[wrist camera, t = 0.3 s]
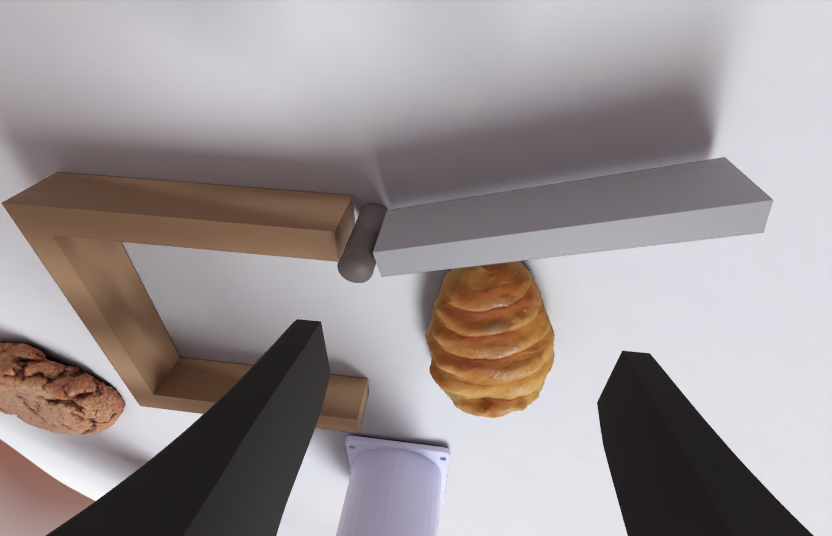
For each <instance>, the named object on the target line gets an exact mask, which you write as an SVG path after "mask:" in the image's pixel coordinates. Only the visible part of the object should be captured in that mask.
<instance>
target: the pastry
mask: <svg viewBox="0 0 832 536" xmlns="http://www.w3.org/2000/svg"><path fill="white" fill-rule="evenodd" d="M426 339H427V344H428V346H429V349H430V353H431V356H432V361H431V365H430V374H431V375H432V377H433V379H434V380H435V382H436V383H437V384H438V385H439V386H440V387H441V389H443V390H444V392H445V393H446V394H447V395H448V396H449V397H450V398H451V400H452V401H453V403H454V405H455V406H456V407H457V408H459V409H461V410H462V411H463V412H466V413H469V414H472V415H475V416H483V417H491V418H496V417H501V416H504V415H507V414H508V413H510V412H512V411H522V410H524V409H525V408H526V407H527V406H528V405H530V404H531V403H532V402H534V401H535V400H536V399H537V398H538V397H539V393H540V391H541V390H542V387H543V385H544V380H545V378H546V376H547V374H548V373H549V371H550V370H551V367H552V365H553V361H554V351H553V346H554V344H553V342H554V331H553V328H552V326H551V323H550V320H549V317H548V315H547V313H546V311H545V308H544V306H543V302H542V299H541V296H540V292H539V290H538V287H537V285H536V283H535V280H534V278H533V276H532V274H531V273H530V272H529V270H528V269H527V268H526V267H525V266H524V265H523V264H522V263H521V261H514V262H505V263H497V264H488V265H479V266H471V267H462V268H454V269H452V270H451V271H450V272H448V273H447V274H446V275H445V276H444V278H443V281H442V285H441V288H440V293H439V296H438V297H437V299H436V300H435V301H434V304H433V309H432V319H431V322H430V324H429V326H428V328H427V331H426Z"/></svg>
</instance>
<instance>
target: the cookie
mask: <svg viewBox="0 0 832 536" xmlns="http://www.w3.org/2000/svg"><path fill="white" fill-rule="evenodd" d="M45 356H46V355H45V354H43V352H42V351H40V350H39V349H36V348H33V347H31V346H29V345H27V344H24V343H0V412H3V413H5V414H15V415H18V416H17V417H18V418H20V419H21V420H22V421H24V422H26V423H28V424H30V425H33V426H36V427H39V428H42V429H45V430H49V431H51V432H56V433H63V434H78V433H80V434H83V435H90V434H95V433H99V432H101V431H103V430H105V429H107V428H109V427H110V426H112V425H113V424H114V423H115V421H116V420H117V419H118V417H119V416H120V415H121V414H122V412H123V410H124V407H125V403H124V402H123V400H122V398H121V397H120V395H119V394H117V391H116V390H114V389H113V388H112V387H109V386H106V385H105V384H104V383H102V382H99V381H98V380H97V379H94V377H93V376H91V375H88V373H86V372H83V373H81V370H80V369H79V368H78V367H73V366H65V365H64V364H60V363H56V362H54V361H49V360H47V359H46V358H45Z"/></svg>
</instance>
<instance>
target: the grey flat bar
mask: <svg viewBox="0 0 832 536" xmlns="http://www.w3.org/2000/svg"><path fill="white" fill-rule="evenodd" d="M772 202H773V199H771V198H770V197H769V196H768V195H767V194H766V193H765V192H764V191H762V190H761V189H760V188H759V187H758V186H757V185H756V184H754V183H753V182H752V181H751V180H750V179H749V178H748V177H747V176H745V175H744V174H743V173H742V172H741V171H740V170H739V169H738V168H736V167H735V166H734V165H733V164H732V163H731V162H730V161H728V160H727V159H726V158H725V157H723V158H717V159H710V160H704V161H698V162H691V163H685V164H678V165H672V166H666V167H659V168H653V169H646V170H640V171H634V172H627V173H621V174H614V175H608V176H601V177H595V178H589V179H582V180H576V181H569V182H563V183H557V184H550V185H544V186H537V187H531V188H525V189H518V190H512V191H505V192H499V193H492V194H486V195H480V196H473V197H467V198H460V199H454V200H448V201H441V202H435V203H428V204H422V205H416V206H409V207H403V208H396V209H390V210H387V212H386V215H385V218H384V221H383V224H382V227H381V230H380V233H379V236H378V239H377V242H376V244H375V247H374V250H373V255H374V257H375V260H376V263H377V265H378V268H379V271H380V274H381V276H382V277H384V276H393V275H402V274H410V273H419V272H428V271H436V270H445V269H454V268H462V267H471V266H479V265H488V264H497V263H505V262H514V261H523V260H531V259H540V258H549V257H557V256H566V255H575V254H583V253H592V252H600V251H609V250H618V249H626V248H635V247H644V246H652V245H661V244H670V243H678V242H687V241H695V240H704V239H713V238H721V237H730V236H739V235H747V234H756V233H763V232H764V229H765V226H766V222H767V219H768V216H769V212H770V209H771V206H772Z"/></svg>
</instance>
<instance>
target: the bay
mask: <svg viewBox="0 0 832 536" xmlns="http://www.w3.org/2000/svg"><path fill="white" fill-rule="evenodd" d="M2 204H3V206H4V207H5V209H6V210H7V212H8V213H9V215H10V216H11V218H12V219H13V221H14V222H15V223H16V225H17V226H18V228H19V229H20V231H21V232H22V234H23V235H24V237H25V238H26V240H27V241H28V243H29V244H30V245H31V247H32V248H33V250H34V251H35V253H36V254H37V256H38V257H39V259H40V260H41V262H42V263H43V264H44V266H45V267H46V269H47V270H48V272H49V273H50V275H51V276H52V278H53V279H54V281H55V282H56V284H57V285H58V286H59V288H60V289H61V291H62V292H63V294H64V295H65V297H66V298H67V300H68V301H69V303H70V304H71V305H72V307H73V308H74V310H75V311H76V313H77V314H78V316H79V317H80V319H81V320H82V322H83V323H84V324H85V326H86V327H87V329H88V330H89V332H90V333H91V335H92V336H93V338H94V339H95V341H96V342H97V344H98V345H99V346H100V348H101V349H102V351H103V352H104V354H105V355H106V357H107V358H108V360H109V361H110V363H111V364H112V365H113V367H114V368H115V370H116V371H117V373H118V374H119V376H120V377H121V379H122V380H123V382H124V383H125V385H126V386H127V387H128V389H129V390H130V392H131V393H132V395H133V396H134V398H135V399H136V401H137V402H138V404H139V405H140V406H145V407H153V408H161V409H169V410H177V411H185V412H193V413H201V414H204V413H205V412H206V411H207V410H209V409H210V408H211V407H212V406H213V405H214V404H215V403H216V402H217V401H218V400H219V399H220V398H221V397H223V396H224V395H225V394H226V393H227V392H228V391H229V390H230V389H231V388H232V387H233V386H234V385H235V384H236V383H237V382H238V381H239V380H240V379H241V378H242V377H243V376H244V375H245V374H246V373H247V372H248V371H249V370H250V369H251V367H252V365H243V364H234V363H226V362H217V361H208V360H199V359H191V358H182V357H180V356H179V354H178V352H177V350H176V348H175V346H174V344H173V342H172V340H171V338H170V336H169V334H168V333H167V331H166V329H165V327H164V325H163V323H162V321H161V319H160V317H159V315H158V313H157V311H156V309H155V307H154V305H153V303H152V301H151V299H150V297H149V296H148V294H147V292H146V290H145V288H144V286H143V284H142V282H141V280H140V278H139V276H138V274H137V272H136V270H135V268H134V266H133V264H132V262H131V260H130V258H129V257H128V255H127V253H126V251H125V249H124V247H123V245H122V243H121V242H131V243H142V244H153V245H164V246H174V247H185V248H196V249H207V250H218V251H229V252H240V253H250V254H261V255H272V256H283V257H294V258H305V259H316V260H326V261H337V262H338V261H339V262H338V271H339V273H340V274H341V275H342V276H343V277H344V278H345V279H346V280H348V281H351V282H354V283H362V282H366V281H367V280H369V279H370V278H371V276H372V274H373V271H374V268H375V265H376V260H375V257H374V255H373V250H374V247H375V244H376V242H377V239H378V236H379V233H380V230H381V227H382V224H383V221H384V218H385V215H386V212H387V209H386V208H385V207H384V206H382V205H380V204H377V203H369V204H367V205H365V206H364V207H363V208H362V210H361V212H360V214H359V216H358V219H357V221H356V223H355V218H354V206H353V195H340V194H328V193H315V192H302V191H290V190H277V189H264V188H252V187H239V186H226V185H214V184H201V183H188V182H175V181H163V180H150V179H137V178H125V177H112V176H99V175H87V174H74V173H61V172H57V173H55V174H53V175H51V176H50V177H48V178H46V179H44V180H42V181H41V182H39V183H37V184H35V185H33V186H31V187H30V188H28V189H26V190H24V191H22V192H20V193H19V194H17V195H15V196H13V197H11V198H10V199H8V200H6V201H4V202H2ZM353 227H354V228H353ZM352 229H353V230H352ZM351 231H352V232H351ZM350 234H351V235H350ZM349 236H350V237H349ZM348 238H349V239H348ZM347 240H348V241H347ZM346 243H347V244H346ZM345 245H346V246H345ZM344 247H345V248H344ZM343 250H344V251H343ZM342 252H343V253H342ZM341 254H342V255H341ZM340 256H341V257H340ZM339 259H340V260H339ZM368 394H369V388H368V379H365V378H357V377H348V376H339V375H330V378H329V382H328V386H327V391H326V395H325V398H324V402H323V406H322V410H321V413H320V416H319V419H318V421H317V424H316V427H315V428H320V429H328V430H336V431H344V432H352V433H359V431H360V426H361V422H362V418H363V414H364V410H365V406H366V402H367V398H368Z"/></svg>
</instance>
